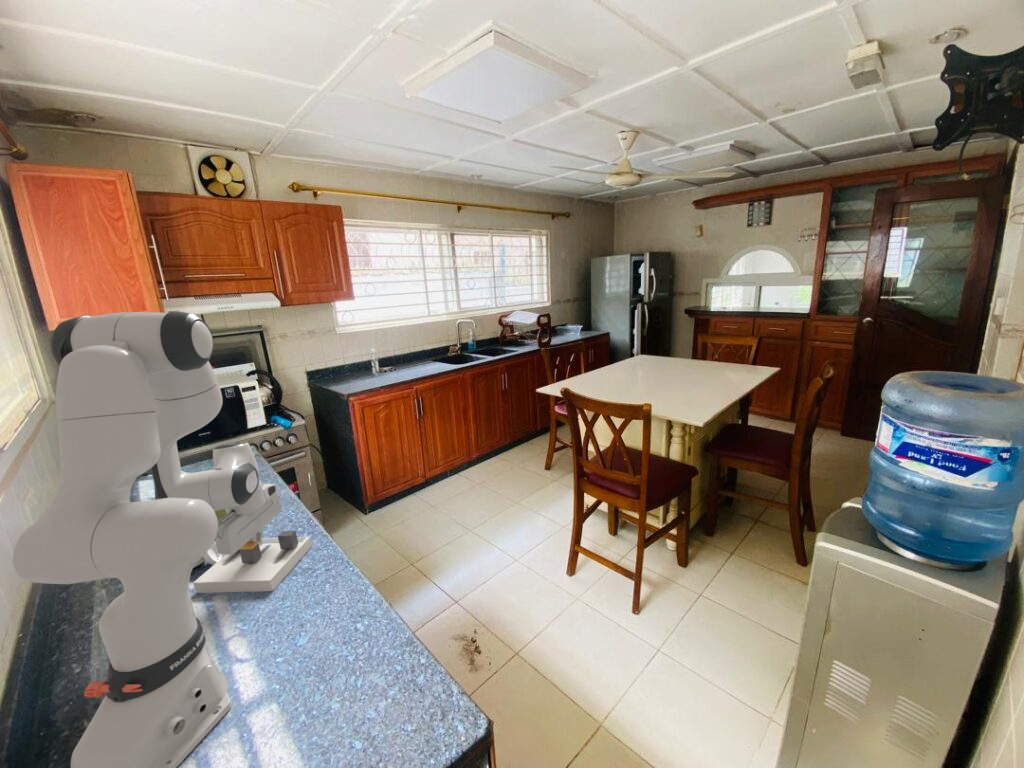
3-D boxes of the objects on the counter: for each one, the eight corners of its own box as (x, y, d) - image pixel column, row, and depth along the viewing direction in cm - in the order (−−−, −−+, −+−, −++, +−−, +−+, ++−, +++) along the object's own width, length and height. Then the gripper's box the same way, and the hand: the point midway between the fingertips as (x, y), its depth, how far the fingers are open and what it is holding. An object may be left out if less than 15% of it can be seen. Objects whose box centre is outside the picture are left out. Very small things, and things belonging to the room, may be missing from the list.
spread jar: (168, 567, 113) (157, 529, 110) (217, 547, 121) (207, 511, 118) (176, 586, 104) (163, 546, 102) (227, 563, 112) (217, 525, 110)
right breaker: (293, 548, 110) (290, 535, 110) (280, 549, 111) (277, 536, 110) (298, 543, 113) (295, 530, 112) (286, 544, 113) (283, 531, 112)
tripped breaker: (255, 562, 106) (251, 547, 105) (242, 563, 106) (238, 547, 105) (261, 556, 108) (257, 541, 107) (248, 557, 108) (245, 542, 107)
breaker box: (272, 590, 100) (270, 579, 99) (196, 593, 101) (192, 582, 100) (312, 545, 117) (310, 536, 116) (246, 548, 119) (244, 538, 118)
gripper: (227, 523, 96) (241, 574, 99) (280, 481, 115) (290, 524, 119) (201, 524, 96) (216, 574, 99) (259, 482, 116) (270, 525, 119)
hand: (257, 547), depth 109 cm, fingers closed
